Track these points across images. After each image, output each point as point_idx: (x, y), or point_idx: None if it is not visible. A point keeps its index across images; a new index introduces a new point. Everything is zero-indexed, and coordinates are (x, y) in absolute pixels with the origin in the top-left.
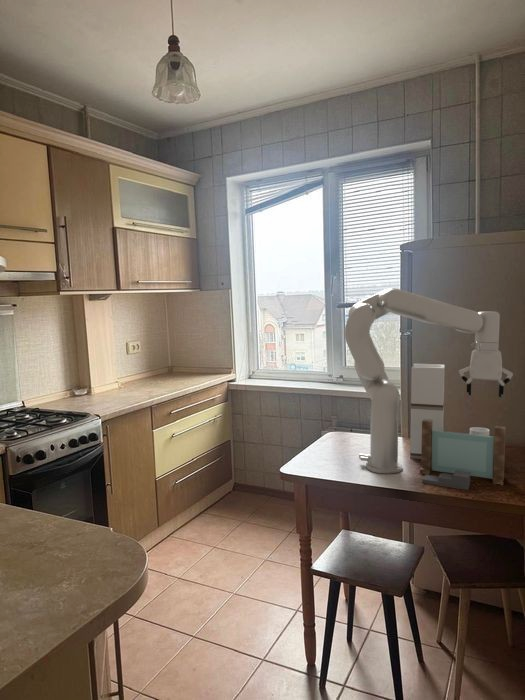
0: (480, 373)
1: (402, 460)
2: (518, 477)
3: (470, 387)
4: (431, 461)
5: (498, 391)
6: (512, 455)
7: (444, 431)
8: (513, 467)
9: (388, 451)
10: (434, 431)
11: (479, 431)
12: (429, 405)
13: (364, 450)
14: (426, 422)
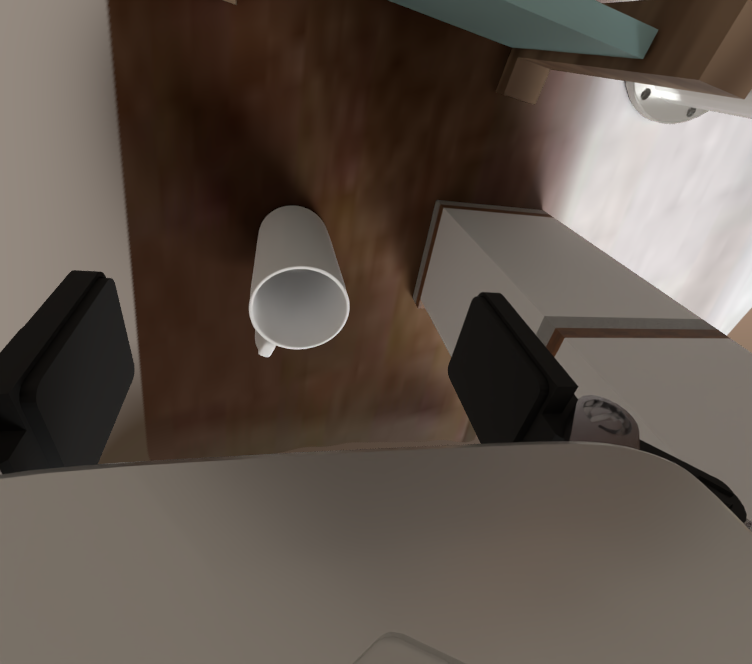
0: (579, 621)
1: (579, 173)
2: (113, 12)
3: (531, 349)
4: (532, 51)
5: (117, 409)
6: (164, 338)
7: (583, 29)
8: (150, 184)
9: None
10: (645, 25)
11: (305, 268)
12: (634, 334)
13: (661, 259)
14: None
